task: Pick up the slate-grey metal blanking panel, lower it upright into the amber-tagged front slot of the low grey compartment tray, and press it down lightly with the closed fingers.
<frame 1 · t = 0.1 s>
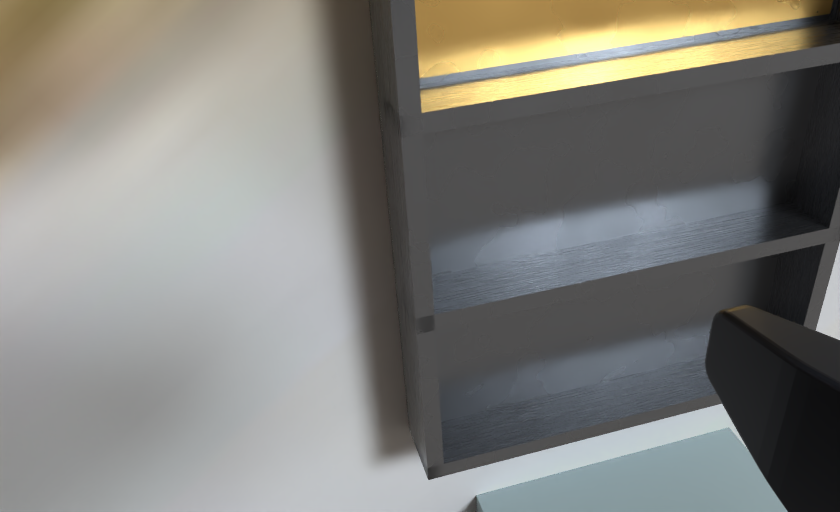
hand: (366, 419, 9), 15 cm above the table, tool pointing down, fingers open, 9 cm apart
grey compartment tray: (611, 152, 26), on the table
blanking panel: (601, 487, 36), on the table
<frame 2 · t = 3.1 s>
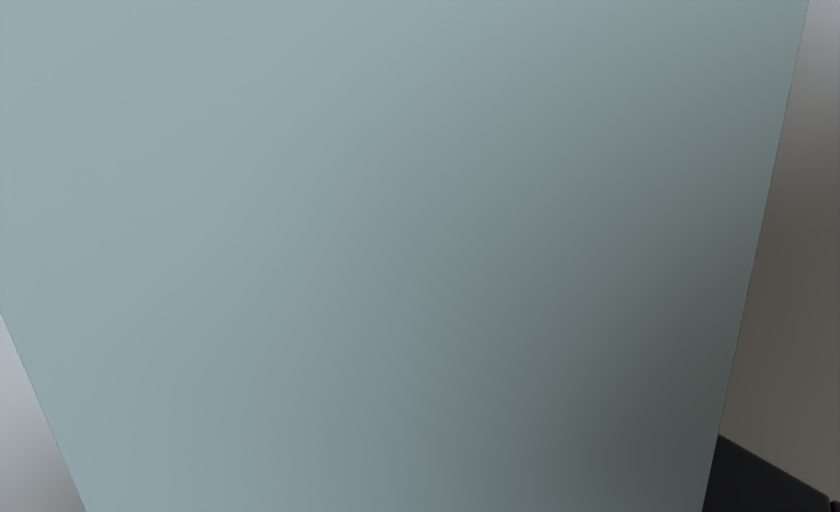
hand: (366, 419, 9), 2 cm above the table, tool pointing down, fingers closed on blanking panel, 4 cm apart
blanking panel: (339, 332, 10), on the table, touching gripper
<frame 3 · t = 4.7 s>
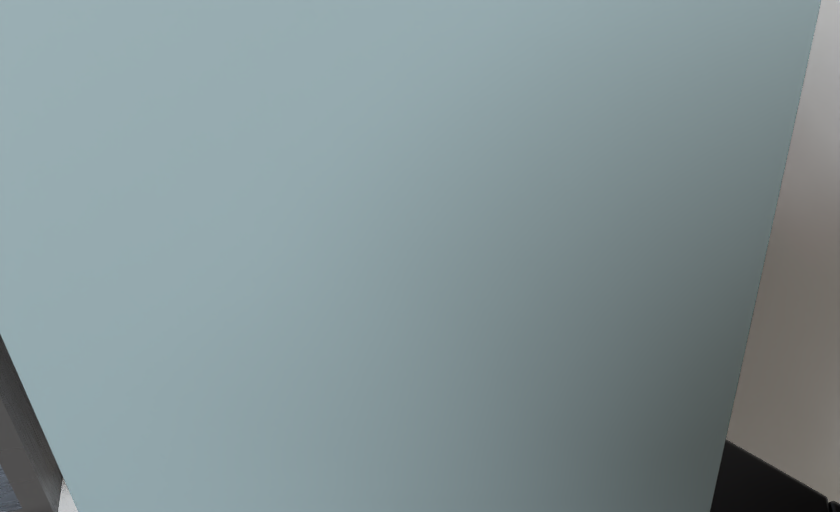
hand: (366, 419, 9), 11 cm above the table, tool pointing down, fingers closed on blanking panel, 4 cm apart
blanking panel: (340, 335, 10), point 9 cm above the table, touching gripper
when the fingers open (3 cm above the table, at t = 9.3 s): blanking panel drops 1 cm, resting on grey compartment tray.
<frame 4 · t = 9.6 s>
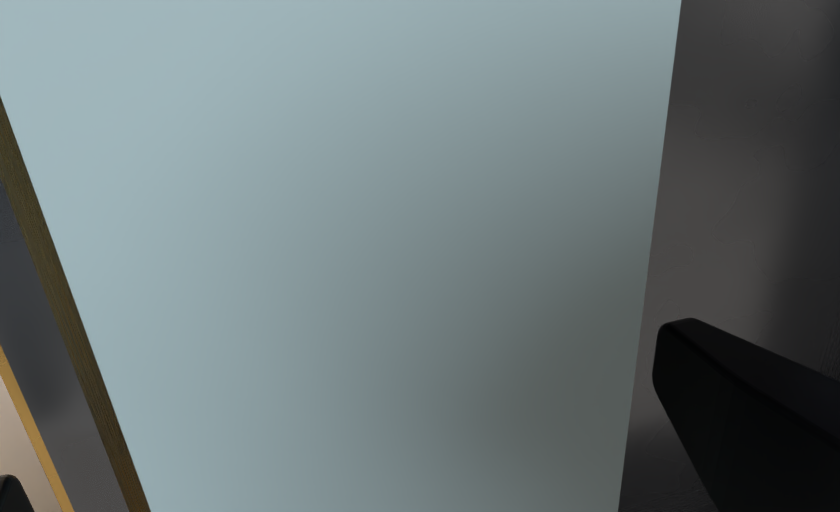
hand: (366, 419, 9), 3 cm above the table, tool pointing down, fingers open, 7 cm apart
grey compartment tray: (703, 186, 13), on the table
blanking panel: (324, 281, 11), point 1 cm above the table, touching grey compartment tray
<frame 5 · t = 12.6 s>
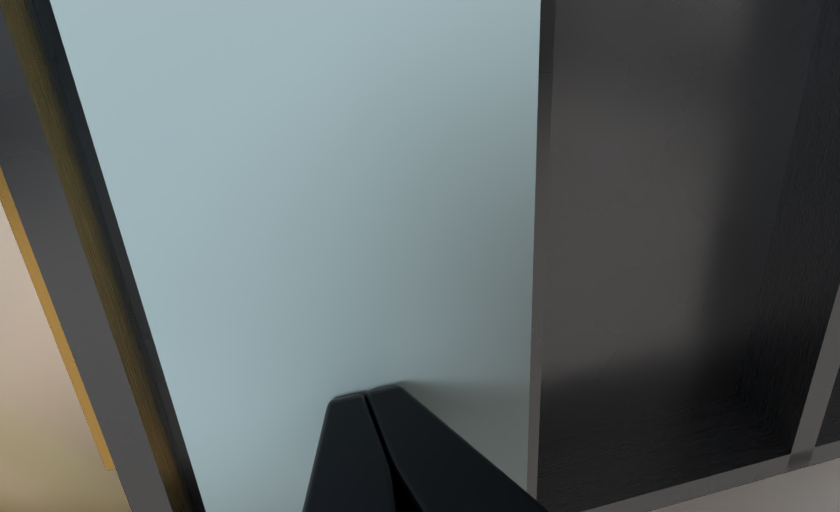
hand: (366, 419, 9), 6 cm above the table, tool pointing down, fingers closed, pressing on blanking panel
grey compartment tray: (638, 136, 15), on the table
blanking panel: (302, 210, 13), point 1 cm above the table, touching gripper, grey compartment tray
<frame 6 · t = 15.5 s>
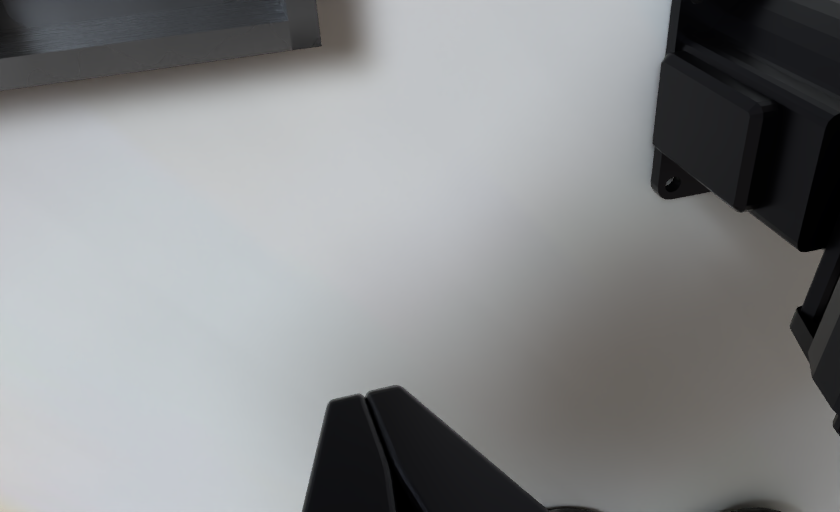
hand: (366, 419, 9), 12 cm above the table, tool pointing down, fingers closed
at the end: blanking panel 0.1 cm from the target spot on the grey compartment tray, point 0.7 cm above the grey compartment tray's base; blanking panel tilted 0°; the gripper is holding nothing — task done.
